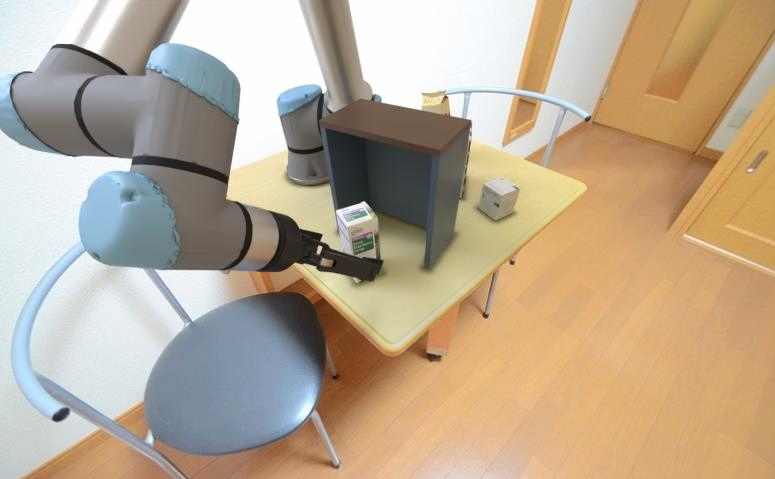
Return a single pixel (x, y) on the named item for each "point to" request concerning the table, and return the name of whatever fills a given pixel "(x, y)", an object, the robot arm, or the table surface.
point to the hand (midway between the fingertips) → (347, 253)
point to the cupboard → (398, 165)
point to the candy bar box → (466, 162)
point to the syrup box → (359, 232)
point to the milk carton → (436, 103)
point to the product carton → (498, 198)
